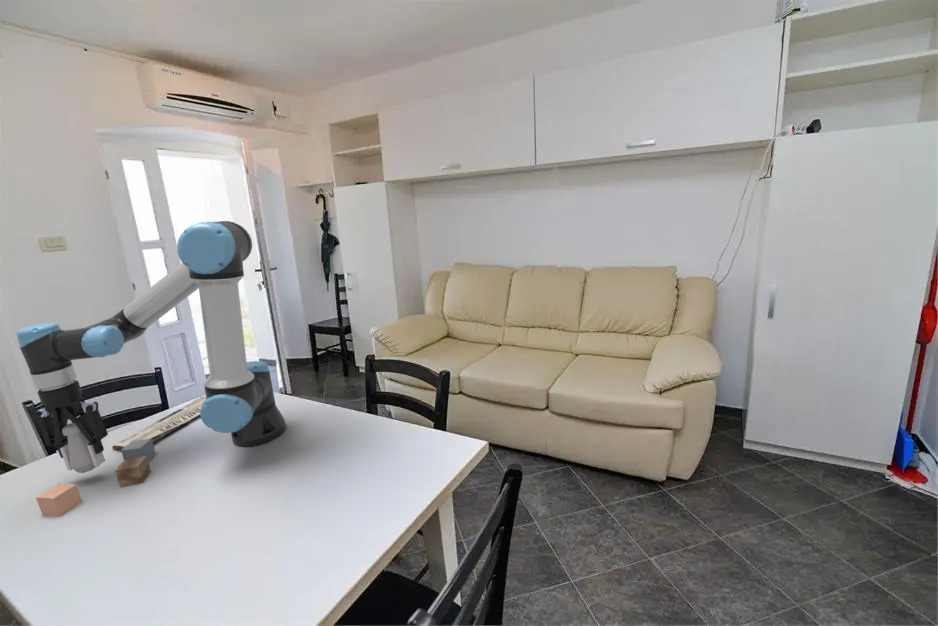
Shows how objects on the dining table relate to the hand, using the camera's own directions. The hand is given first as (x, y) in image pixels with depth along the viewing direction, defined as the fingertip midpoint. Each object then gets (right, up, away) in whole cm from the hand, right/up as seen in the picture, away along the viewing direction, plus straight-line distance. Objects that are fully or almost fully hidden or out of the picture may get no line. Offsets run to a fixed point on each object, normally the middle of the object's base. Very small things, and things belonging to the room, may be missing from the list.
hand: (86, 465), depth 109 cm
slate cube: (+7, -2, +9) cm, 12 cm away
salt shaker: (0, -1, 0) cm, 1 cm away
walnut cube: (+13, -4, 0) cm, 13 cm away
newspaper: (+3, +2, +30) cm, 30 cm away
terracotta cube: (+3, -7, -9) cm, 12 cm away
